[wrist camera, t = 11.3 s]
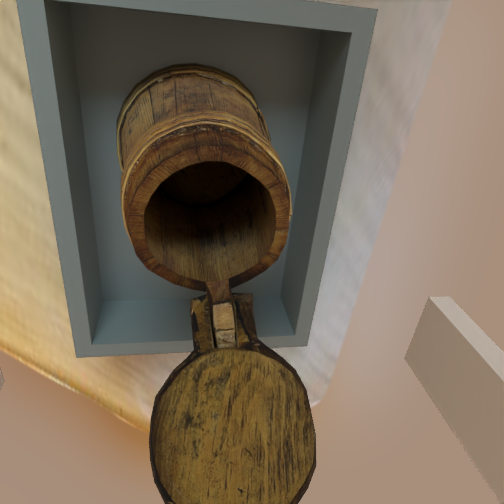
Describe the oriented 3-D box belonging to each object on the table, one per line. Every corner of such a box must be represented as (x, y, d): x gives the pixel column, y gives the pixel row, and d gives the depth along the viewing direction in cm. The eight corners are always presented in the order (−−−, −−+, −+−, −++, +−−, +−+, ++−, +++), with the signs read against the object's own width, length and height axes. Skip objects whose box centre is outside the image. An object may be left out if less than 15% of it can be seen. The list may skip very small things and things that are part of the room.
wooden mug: (142, 278, 28) (104, 594, 12) (102, 66, 21) (-94, 185, 6) (267, 265, 29) (372, 538, 14) (267, 60, 22) (479, 144, 7)
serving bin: (49, -22, 20) (9, -36, 15) (335, 12, 22) (377, 9, 18) (91, 304, 29) (76, 357, 25) (287, 298, 32) (306, 346, 27)
